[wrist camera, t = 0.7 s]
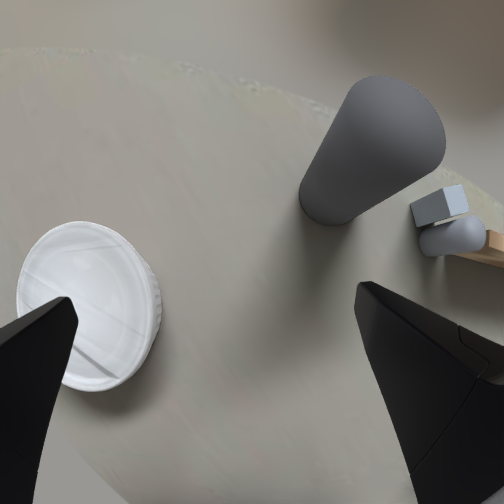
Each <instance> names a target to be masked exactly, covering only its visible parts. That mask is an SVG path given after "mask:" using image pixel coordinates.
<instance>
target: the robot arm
mask: <svg viewBox="0 0 504 504" xmlns="http://www.w3.org/2000/svg"><path fill="white" fill-rule="evenodd" d="M354 311H355V315H356V319H357V322H358V326H359V329H360V333H361V337H362V340H363V344H364V348H365V351H366V354H367V357H368V360H369V362H370V365H371V367H372V370H373V372H374V375H375V377H376V380H377V383H378V385H379V388H380V390H381V393H382V396H383V398H384V401H385V404H386V406H387V409H388V412H389V415H390V417H391V420H392V423H393V426H394V429H395V432H396V434H397V437H398V440H399V443H400V446H401V449H402V452H403V455H404V458H405V461H406V464H407V467H408V471H409V473H410V478H411V481H412V484H413V487H414V491H415V494H416V497H417V501H418V504H504V346H502V345H500V344H497V343H495V342H493V341H491V340H489V339H486V338H484V337H482V336H480V335H478V334H476V333H474V332H472V331H470V330H468V329H466V328H464V327H462V326H460V325H459V326H458V325H457V324H456V323H454V322H452V321H450V320H448V319H446V318H444V317H442V316H440V315H439V314H437V313H435V312H433V311H431V310H429V309H427V308H425V307H423V306H421V305H419V304H417V303H415V302H413V301H411V300H409V299H407V298H405V297H403V296H401V295H399V294H397V293H395V292H393V291H391V290H388V289H386V288H384V287H382V286H380V285H378V284H376V283H374V282H372V281H367V282H360V283H359V284H358V286H357V291H356V298H355V304H354ZM78 323H79V320H78V316H77V313H76V311H75V308H74V305H73V303H72V300H71V299H70V298H69V297H67V296H59V297H57V298H55V299H53V300H51V301H49V302H47V303H45V304H44V305H42V306H40V307H38V308H36V309H34V310H32V311H31V312H29V313H27V314H25V315H23V316H22V317H20V318H18V319H16V320H14V321H13V322H11V323H9V324H7V325H5V326H4V327H2V328H0V504H32V503H33V496H34V490H35V485H36V479H37V474H38V472H37V471H38V468H39V463H40V458H41V454H42V450H43V446H44V441H45V437H46V434H47V429H48V426H49V422H50V419H51V415H52V412H53V408H54V405H55V402H56V398H57V395H58V392H59V389H60V386H61V383H62V380H63V377H64V374H65V371H66V368H67V365H68V362H69V358H70V354H71V350H72V346H73V342H74V339H75V335H76V331H77V328H78Z"/></svg>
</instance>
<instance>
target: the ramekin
mask: <svg viewBox="0 0 504 504" xmlns="http://www.w3.org/2000/svg"><path fill="white" fill-rule="evenodd" d="M59 296H67V297H69V298H70V299H71V300H72V303H73V305H74V308H75V311H76V313H77V316H78V320H79V323H78V328H77V331H76V335H75V339H74V342H73V346H72V350H71V354H70V358H69V362H68V365H67V368H66V371H65V374H64V377H63V380H62V384H64V385H66V386H68V387H70V388H73V389H76V390H80V391H86V392H100V391H106V390H109V389H112V388H114V387H116V386H118V385H120V384H122V383H123V382H125V381H126V380H127V379H129V378H130V377H131V376H132V375H133V374H134V373H135V372H136V371H137V370H138V369H139V368H140V366H141V365H142V364H143V362H144V360H145V359H146V357H147V355H148V353H149V351H150V348H151V346H152V343H153V341H154V339H155V337H156V334H157V332H158V330H159V325H160V322H161V313H162V308H161V303H162V302H161V293H160V290H159V285H158V283H157V281H156V277H155V276H154V274H153V272H152V270H151V268H150V267H149V266H148V264H147V263H146V261H145V260H143V259H142V257H141V256H140V255H139V254H138V253H137V251H136V250H135V249H134V248H133V247H132V245H131V244H130V243H129V242H128V241H127V240H125V239H124V238H123V237H122V236H121V235H119V234H118V233H116V232H115V231H113V230H111V229H109V228H107V227H104V226H102V225H99V224H95V223H91V222H79V221H76V222H69V223H66V224H63V225H60V226H58V227H55V228H53V229H52V230H50V231H48V232H47V233H46V234H45V235H43V236H42V237H41V238H40V239H39V240H38V241H37V242H36V244H35V245H34V246H33V247H32V249H31V250H30V252H29V254H28V255H27V257H26V259H25V261H24V263H23V266H22V269H21V272H20V276H19V279H18V284H17V296H16V303H17V314H18V318H20V317H22V316H23V315H25V314H27V313H29V312H31V311H32V310H34V309H36V308H38V307H40V306H42V305H44V304H45V303H47V302H49V301H51V300H53V299H55V298H57V297H59Z"/></svg>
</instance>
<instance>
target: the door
mask: <svg viewBox="0 0 504 504" xmlns="http://www.w3.org/2000/svg"><path fill="white" fill-rule="evenodd" d="M453 255H457V256H460V257H464V258H468V259H471V260H475V261H479V262H482V263H486V264H489V265H493V266H496V267H499V268H503V269H504V235H503V234H500V233H497V232H495V231H492V230H486V240H485V244H484V246H483V247H482V248H481V249H480V250H478V251H473V252H466V253H458V254H453Z"/></svg>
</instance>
